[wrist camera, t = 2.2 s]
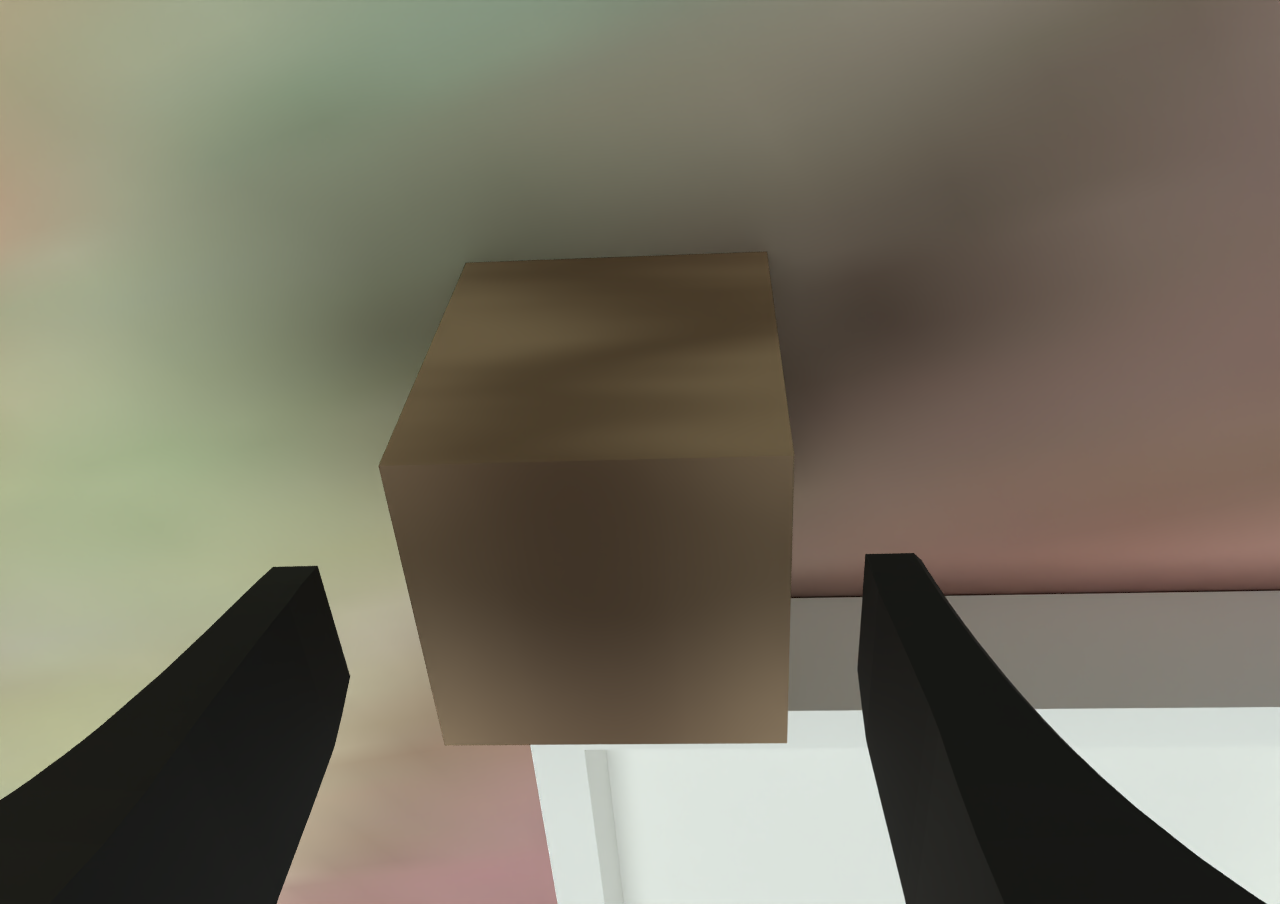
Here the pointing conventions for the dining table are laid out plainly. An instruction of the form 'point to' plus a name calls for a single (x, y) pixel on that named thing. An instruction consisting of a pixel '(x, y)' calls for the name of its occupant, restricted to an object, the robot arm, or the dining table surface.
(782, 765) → the tray
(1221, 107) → the dining table surface
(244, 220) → the dining table surface
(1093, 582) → the dining table surface
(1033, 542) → the dining table surface
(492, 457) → the walnut block
